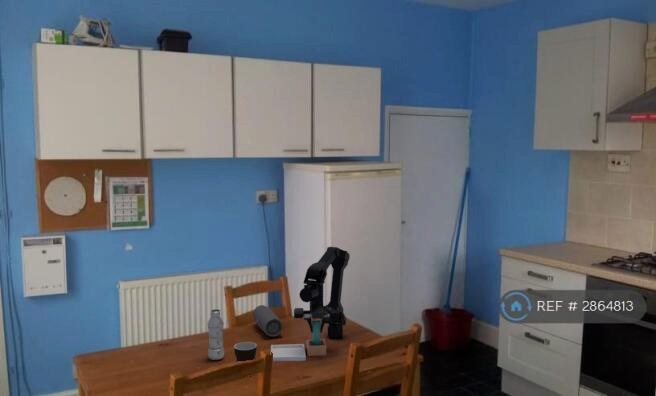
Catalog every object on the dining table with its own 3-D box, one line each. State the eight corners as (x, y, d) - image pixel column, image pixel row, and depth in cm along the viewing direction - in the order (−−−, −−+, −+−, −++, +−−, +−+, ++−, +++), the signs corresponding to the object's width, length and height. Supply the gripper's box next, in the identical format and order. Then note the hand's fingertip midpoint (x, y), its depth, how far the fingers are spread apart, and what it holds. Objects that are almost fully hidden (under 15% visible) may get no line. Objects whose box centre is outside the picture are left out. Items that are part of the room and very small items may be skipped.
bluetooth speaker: (251, 325, 262) (251, 305, 261) (270, 323, 266) (270, 303, 265) (263, 340, 241) (263, 318, 240) (283, 338, 244) (283, 316, 244)
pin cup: (324, 348, 232) (324, 339, 231) (326, 355, 224) (326, 345, 224) (306, 349, 231) (306, 339, 231) (307, 355, 223) (307, 346, 223)
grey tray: (303, 348, 232) (303, 344, 232) (305, 360, 218) (305, 356, 218) (271, 349, 231) (270, 345, 230) (270, 361, 217) (270, 357, 217)
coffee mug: (252, 376, 202) (252, 350, 202) (230, 374, 204) (230, 349, 203) (262, 364, 214) (262, 340, 213) (241, 363, 216) (241, 338, 215)
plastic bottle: (227, 356, 222) (226, 309, 220) (218, 363, 215) (218, 313, 214) (213, 354, 224) (212, 307, 222) (204, 360, 218) (203, 312, 216)
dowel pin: (320, 342, 229) (320, 319, 228) (320, 345, 226) (320, 322, 225) (312, 343, 229) (312, 320, 228) (312, 346, 225) (312, 322, 224)
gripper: (294, 302, 216) (294, 340, 218) (341, 301, 218) (340, 338, 220) (293, 294, 227) (293, 330, 229) (338, 293, 229) (337, 329, 231)
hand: (316, 332), depth 227 cm, fingers closed on dowel pin, 3 cm apart
